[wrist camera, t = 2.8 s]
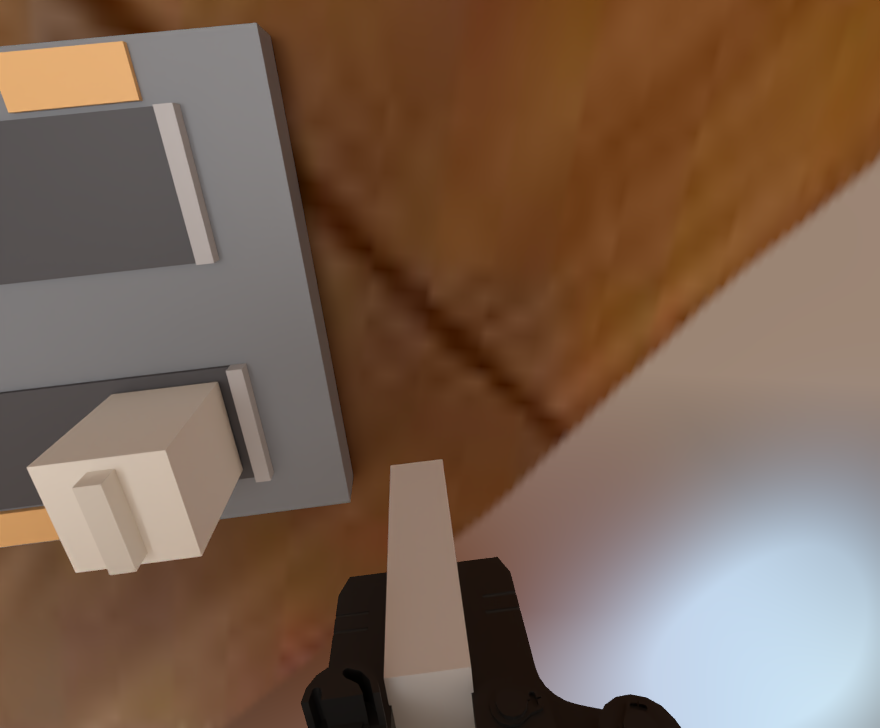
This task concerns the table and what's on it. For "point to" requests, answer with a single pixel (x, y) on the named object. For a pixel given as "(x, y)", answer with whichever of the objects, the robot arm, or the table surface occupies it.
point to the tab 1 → (140, 478)
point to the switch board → (159, 259)
